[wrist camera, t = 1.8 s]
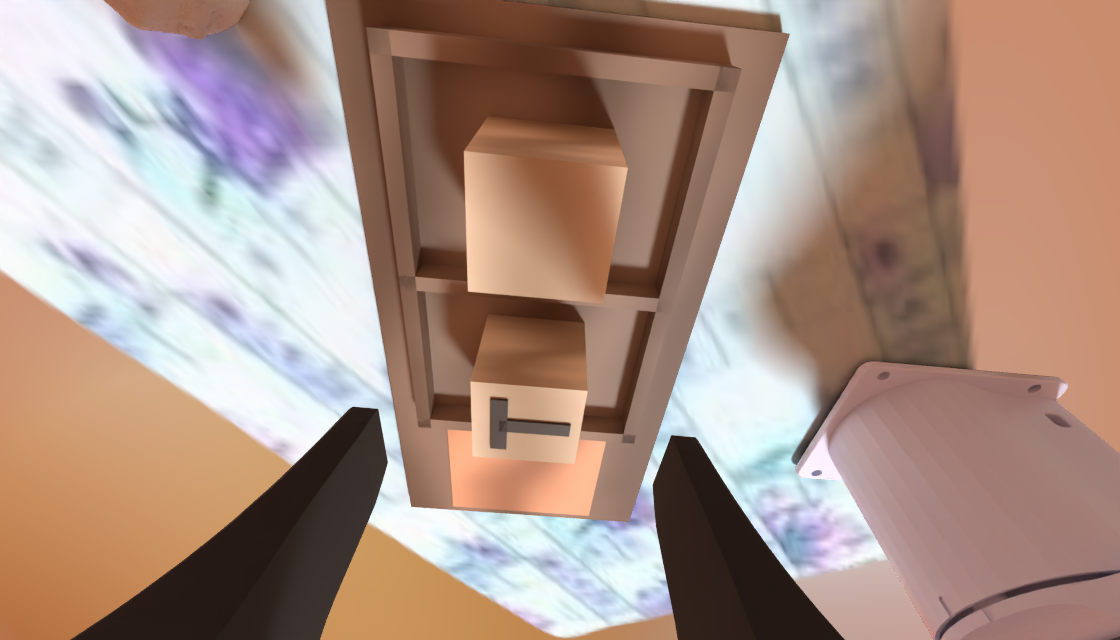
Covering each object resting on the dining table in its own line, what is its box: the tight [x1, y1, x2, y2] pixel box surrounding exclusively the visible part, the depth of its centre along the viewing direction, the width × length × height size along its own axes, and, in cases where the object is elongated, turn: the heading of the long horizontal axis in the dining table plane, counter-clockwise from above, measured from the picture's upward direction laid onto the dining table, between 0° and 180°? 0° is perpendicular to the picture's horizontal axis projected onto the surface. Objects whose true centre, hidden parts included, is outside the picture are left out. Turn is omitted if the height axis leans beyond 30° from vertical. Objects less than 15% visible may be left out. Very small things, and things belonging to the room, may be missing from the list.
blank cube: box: [464, 116, 628, 304], centre depth 14 cm, size 4×4×4 cm
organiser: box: [326, 0, 790, 522], centre depth 20 cm, size 13×25×2 cm, turn 175°
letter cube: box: [470, 314, 588, 464], centre depth 18 cm, size 4×4×4 cm
